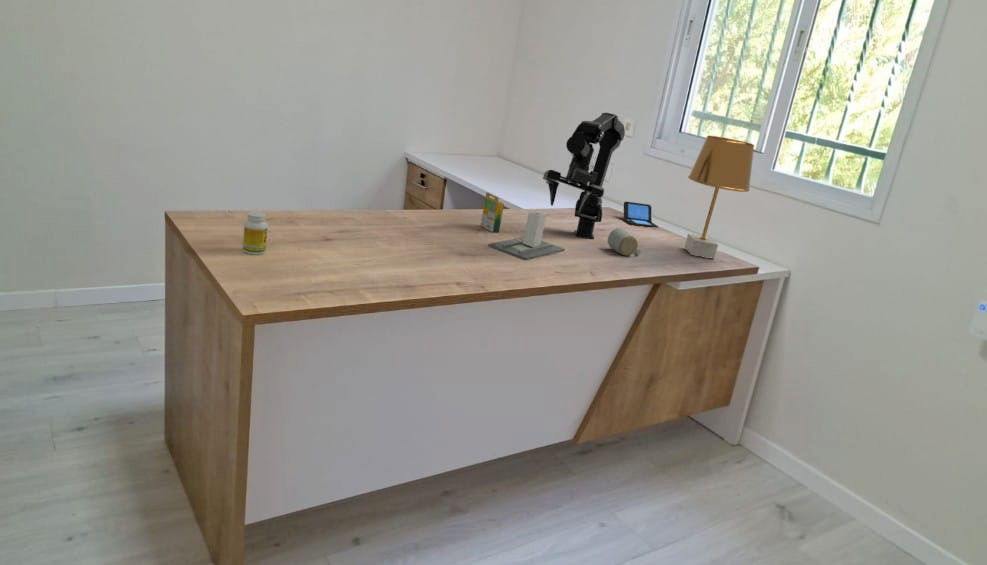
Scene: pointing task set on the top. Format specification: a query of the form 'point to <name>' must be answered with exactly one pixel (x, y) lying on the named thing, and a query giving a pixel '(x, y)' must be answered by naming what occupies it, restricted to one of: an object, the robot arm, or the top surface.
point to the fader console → (525, 248)
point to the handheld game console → (638, 214)
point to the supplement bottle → (255, 234)
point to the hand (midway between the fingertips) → (565, 210)
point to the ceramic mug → (623, 242)
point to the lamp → (719, 180)
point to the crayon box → (492, 213)
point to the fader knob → (534, 229)
